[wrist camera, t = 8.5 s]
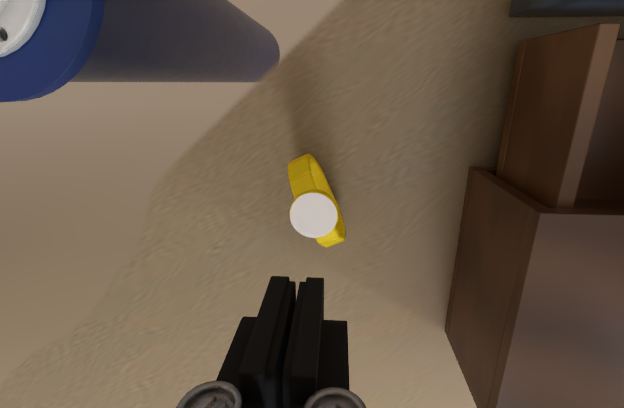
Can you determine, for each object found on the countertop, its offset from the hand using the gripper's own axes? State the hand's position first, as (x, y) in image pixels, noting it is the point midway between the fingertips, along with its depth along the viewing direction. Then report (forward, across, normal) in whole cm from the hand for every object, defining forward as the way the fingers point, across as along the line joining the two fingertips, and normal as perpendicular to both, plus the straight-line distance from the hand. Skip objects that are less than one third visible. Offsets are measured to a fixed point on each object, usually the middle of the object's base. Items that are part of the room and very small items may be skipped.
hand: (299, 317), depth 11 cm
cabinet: (+15, -16, +5) cm, 23 cm away
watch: (+15, 0, 0) cm, 15 cm away
